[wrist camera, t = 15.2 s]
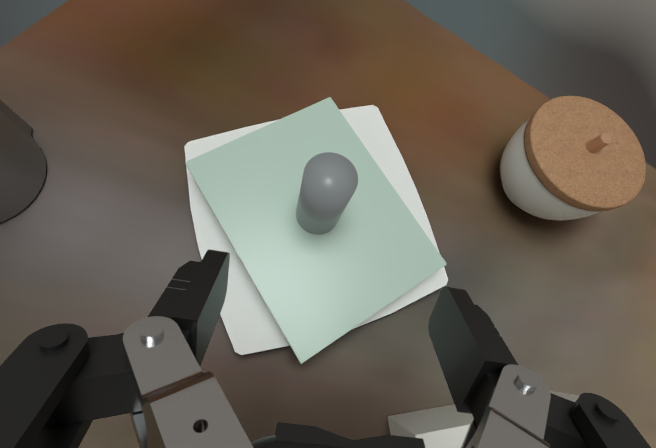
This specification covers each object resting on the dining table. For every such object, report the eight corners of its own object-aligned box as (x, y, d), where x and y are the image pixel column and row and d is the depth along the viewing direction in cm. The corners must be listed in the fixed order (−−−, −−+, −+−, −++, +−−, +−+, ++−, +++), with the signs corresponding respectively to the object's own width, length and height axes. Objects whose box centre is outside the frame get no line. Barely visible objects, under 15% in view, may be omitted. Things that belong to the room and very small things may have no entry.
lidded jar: (587, 233, 37) (686, 199, 28) (491, 235, 35) (565, 201, 26) (560, 140, 40) (641, 84, 31) (471, 139, 38) (531, 79, 30)
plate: (374, 110, 39) (381, 94, 36) (449, 294, 34) (463, 290, 31) (177, 150, 34) (170, 135, 31) (230, 370, 29) (226, 373, 26)
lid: (190, 173, 31) (159, 109, 22) (327, 110, 35) (345, 35, 26) (299, 362, 27) (311, 372, 19) (436, 268, 31) (497, 242, 23)
